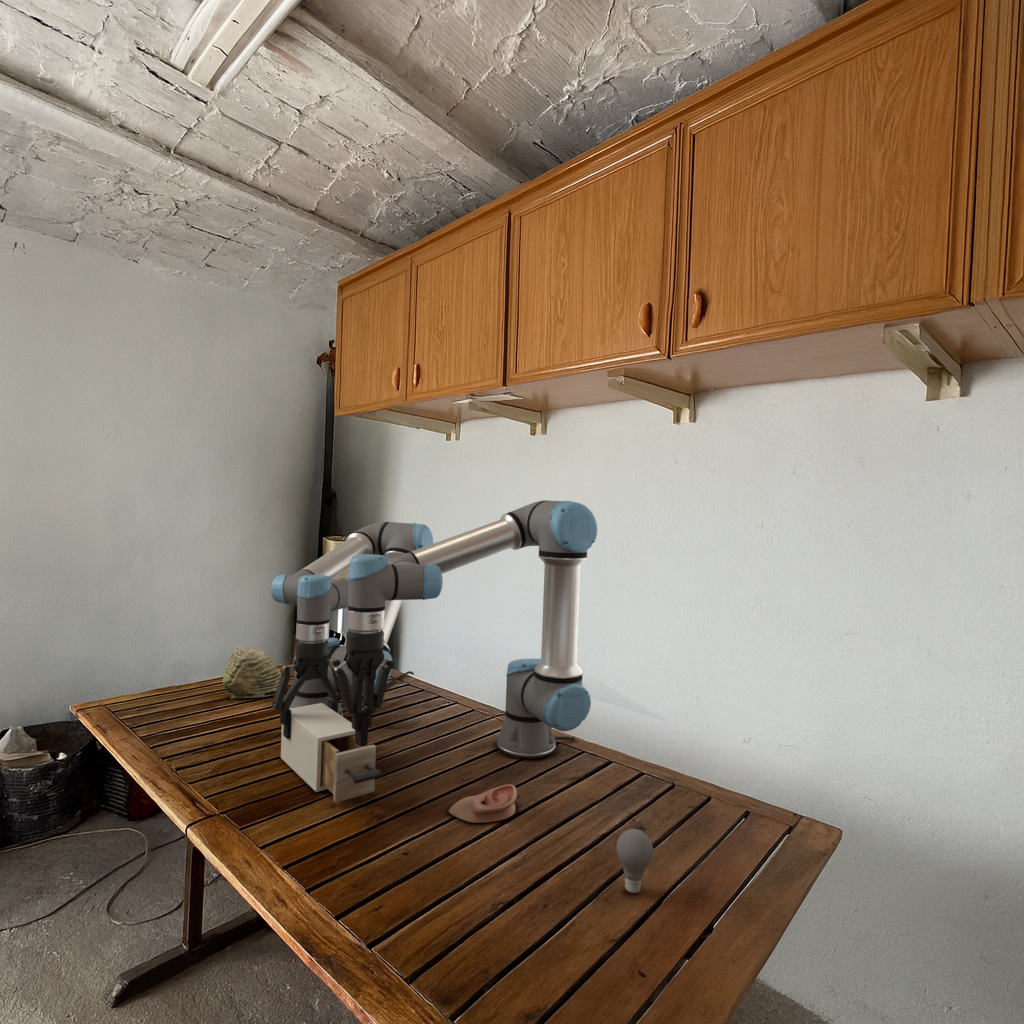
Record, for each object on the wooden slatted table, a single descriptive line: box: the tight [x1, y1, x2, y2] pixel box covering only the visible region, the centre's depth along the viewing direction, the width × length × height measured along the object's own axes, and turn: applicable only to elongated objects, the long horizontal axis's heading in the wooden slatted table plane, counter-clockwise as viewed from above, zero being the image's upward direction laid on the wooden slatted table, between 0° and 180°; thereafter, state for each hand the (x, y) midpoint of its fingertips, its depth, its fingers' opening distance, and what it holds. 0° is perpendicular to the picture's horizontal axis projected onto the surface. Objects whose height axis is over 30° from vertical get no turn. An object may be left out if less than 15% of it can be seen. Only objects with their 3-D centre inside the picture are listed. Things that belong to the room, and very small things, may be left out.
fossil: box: [222, 646, 281, 699], centre depth 198 cm, size 9×18×15 cm, turn 132°
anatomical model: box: [448, 783, 518, 824], centre depth 131 cm, size 13×4×12 cm
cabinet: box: [280, 703, 355, 793], centre depth 147 cm, size 22×10×12 cm, turn 39°
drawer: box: [320, 735, 381, 803], centre depth 138 cm, size 26×9×10 cm, turn 39°
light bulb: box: [615, 828, 654, 894], centre depth 106 cm, size 6×6×10 cm
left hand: (309, 732), depth 152 cm, fingers closed on cabinet, 10 cm apart
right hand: (361, 743), depth 131 cm, fingers closed
